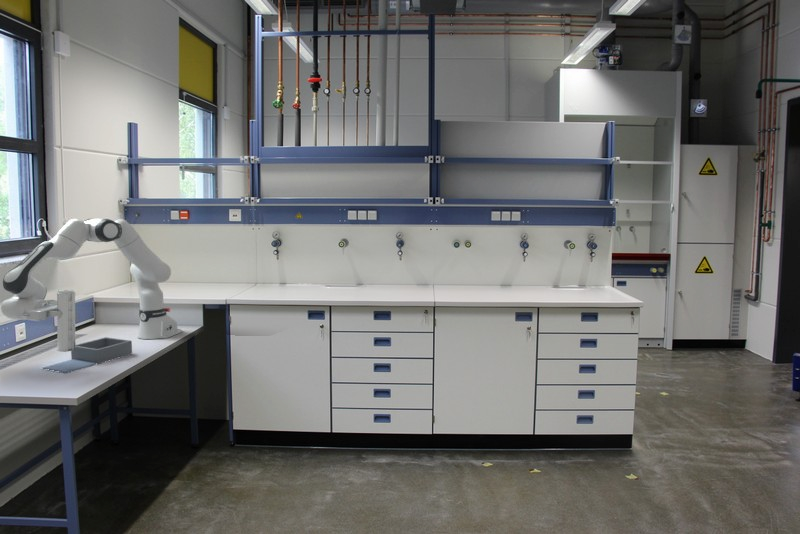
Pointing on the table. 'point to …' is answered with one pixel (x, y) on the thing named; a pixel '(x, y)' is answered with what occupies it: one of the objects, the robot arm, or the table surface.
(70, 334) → the light grey tall bar
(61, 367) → the mat
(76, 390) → the table surface
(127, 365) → the table surface
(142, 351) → the table surface
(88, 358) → the gray open bin
